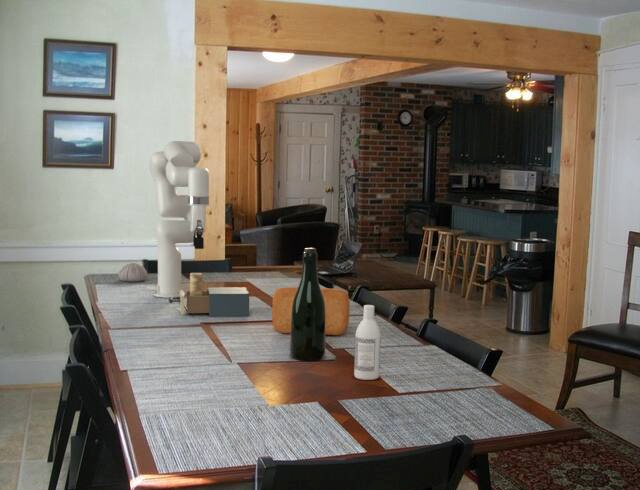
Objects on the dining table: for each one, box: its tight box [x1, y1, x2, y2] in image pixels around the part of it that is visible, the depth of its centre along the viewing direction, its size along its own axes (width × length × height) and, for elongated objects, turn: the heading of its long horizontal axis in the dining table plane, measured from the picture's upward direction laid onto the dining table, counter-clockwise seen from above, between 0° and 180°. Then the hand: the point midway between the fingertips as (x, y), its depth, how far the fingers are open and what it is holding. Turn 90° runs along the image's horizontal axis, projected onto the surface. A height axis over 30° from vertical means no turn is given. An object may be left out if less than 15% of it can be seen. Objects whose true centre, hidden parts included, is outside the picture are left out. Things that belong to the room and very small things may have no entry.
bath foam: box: [353, 304, 382, 381], centre depth 219 cm, size 7×7×20 cm
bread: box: [271, 286, 351, 336], centre depth 277 cm, size 16×26×17 cm
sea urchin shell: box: [117, 262, 149, 283], centre depth 372 cm, size 13×14×8 cm
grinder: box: [189, 272, 204, 296], centre depth 300 cm, size 5×5×13 cm
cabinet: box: [206, 286, 250, 318], centre depth 303 cm, size 15×15×9 cm
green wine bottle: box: [289, 247, 326, 362], centre depth 238 cm, size 10×10×33 cm
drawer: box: [168, 289, 209, 315], centre depth 300 cm, size 18×13×7 cm
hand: (198, 247), depth 298 cm, fingers open, 9 cm apart
